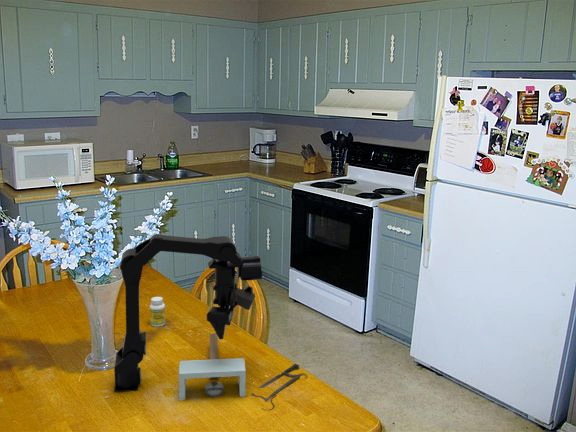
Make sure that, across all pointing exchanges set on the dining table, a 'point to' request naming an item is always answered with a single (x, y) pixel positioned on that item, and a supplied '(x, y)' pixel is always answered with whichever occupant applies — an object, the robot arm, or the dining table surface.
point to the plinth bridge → (211, 371)
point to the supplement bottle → (157, 312)
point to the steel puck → (214, 389)
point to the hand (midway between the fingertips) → (224, 331)
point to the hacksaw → (283, 385)
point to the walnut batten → (213, 350)
